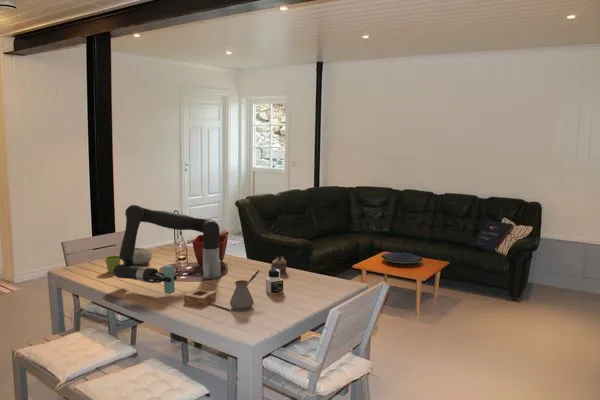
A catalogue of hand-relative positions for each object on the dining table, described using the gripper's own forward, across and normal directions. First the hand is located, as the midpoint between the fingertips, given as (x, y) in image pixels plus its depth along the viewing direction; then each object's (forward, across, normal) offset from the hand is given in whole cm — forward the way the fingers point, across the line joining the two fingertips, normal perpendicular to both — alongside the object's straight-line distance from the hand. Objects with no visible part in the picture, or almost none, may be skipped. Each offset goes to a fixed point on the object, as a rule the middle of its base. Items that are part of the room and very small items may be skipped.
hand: (173, 278), depth 249 cm
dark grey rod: (+29, -3, +10) cm, 31 cm away
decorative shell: (-60, +39, +10) cm, 72 cm away
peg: (-3, 0, +8) cm, 8 cm away
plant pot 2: (-18, +58, +10) cm, 62 cm away
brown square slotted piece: (+16, 0, +10) cm, 18 cm away
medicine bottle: (+43, +29, +10) cm, 52 cm away
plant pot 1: (-61, +19, +9) cm, 65 cm away
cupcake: (+29, +60, +10) cm, 67 cm away
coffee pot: (+40, +6, +10) cm, 42 cm away
